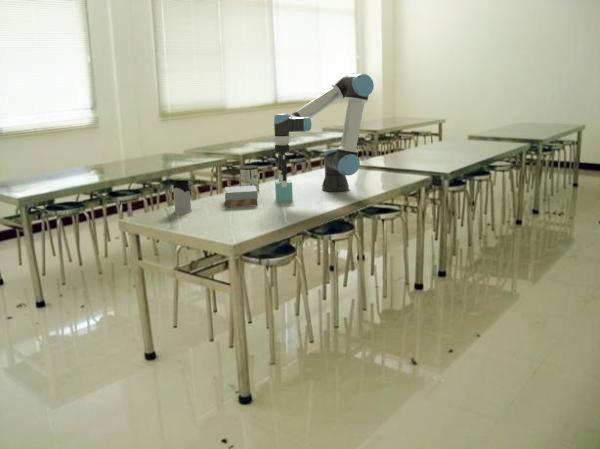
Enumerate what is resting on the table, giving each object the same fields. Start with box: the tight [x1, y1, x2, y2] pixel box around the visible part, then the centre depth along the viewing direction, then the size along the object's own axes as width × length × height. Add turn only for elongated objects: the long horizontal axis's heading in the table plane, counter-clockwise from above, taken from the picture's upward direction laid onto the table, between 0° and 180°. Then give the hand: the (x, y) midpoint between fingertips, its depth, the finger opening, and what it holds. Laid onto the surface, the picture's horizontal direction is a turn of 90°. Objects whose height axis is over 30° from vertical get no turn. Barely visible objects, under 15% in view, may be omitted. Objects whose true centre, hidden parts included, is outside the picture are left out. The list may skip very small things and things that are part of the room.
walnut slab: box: [224, 194, 258, 208], centre depth 309 cm, size 16×16×4 cm
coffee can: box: [239, 164, 260, 192], centre depth 340 cm, size 10×10×14 cm
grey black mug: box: [172, 179, 194, 214], centre depth 295 cm, size 9×14×15 cm, turn 156°
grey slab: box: [224, 186, 258, 201], centre depth 308 cm, size 16×16×4 cm
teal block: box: [274, 179, 294, 203], centre depth 311 cm, size 8×8×10 cm
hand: (282, 184), depth 310 cm, fingers open, 13 cm apart
